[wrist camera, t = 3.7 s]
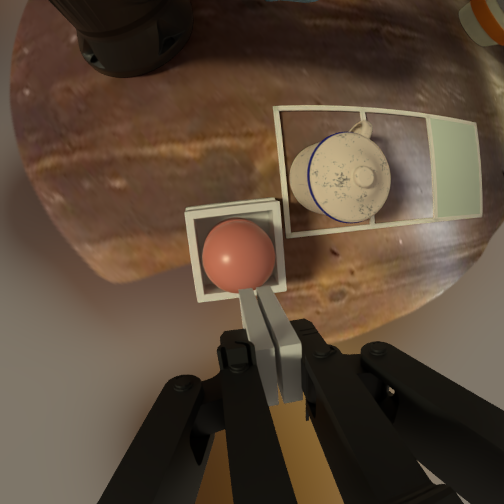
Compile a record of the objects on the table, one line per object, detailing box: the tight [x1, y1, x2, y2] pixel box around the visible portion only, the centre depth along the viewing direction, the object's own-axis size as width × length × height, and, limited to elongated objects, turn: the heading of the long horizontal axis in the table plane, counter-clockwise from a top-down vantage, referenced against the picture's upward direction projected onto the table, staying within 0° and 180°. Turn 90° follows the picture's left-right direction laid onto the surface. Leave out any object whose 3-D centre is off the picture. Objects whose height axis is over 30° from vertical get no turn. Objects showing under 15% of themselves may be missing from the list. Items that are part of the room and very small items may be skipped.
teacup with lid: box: [290, 120, 391, 223], centre depth 30 cm, size 12×9×12 cm
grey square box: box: [185, 197, 287, 303], centre depth 34 cm, size 10×10×6 cm
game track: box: [273, 105, 482, 239], centre depth 37 cm, size 35×16×1 cm, turn 96°
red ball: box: [202, 217, 275, 294], centre depth 29 cm, size 7×7×7 cm
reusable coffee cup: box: [459, 0, 504, 47], centre depth 25 cm, size 13×13×15 cm
